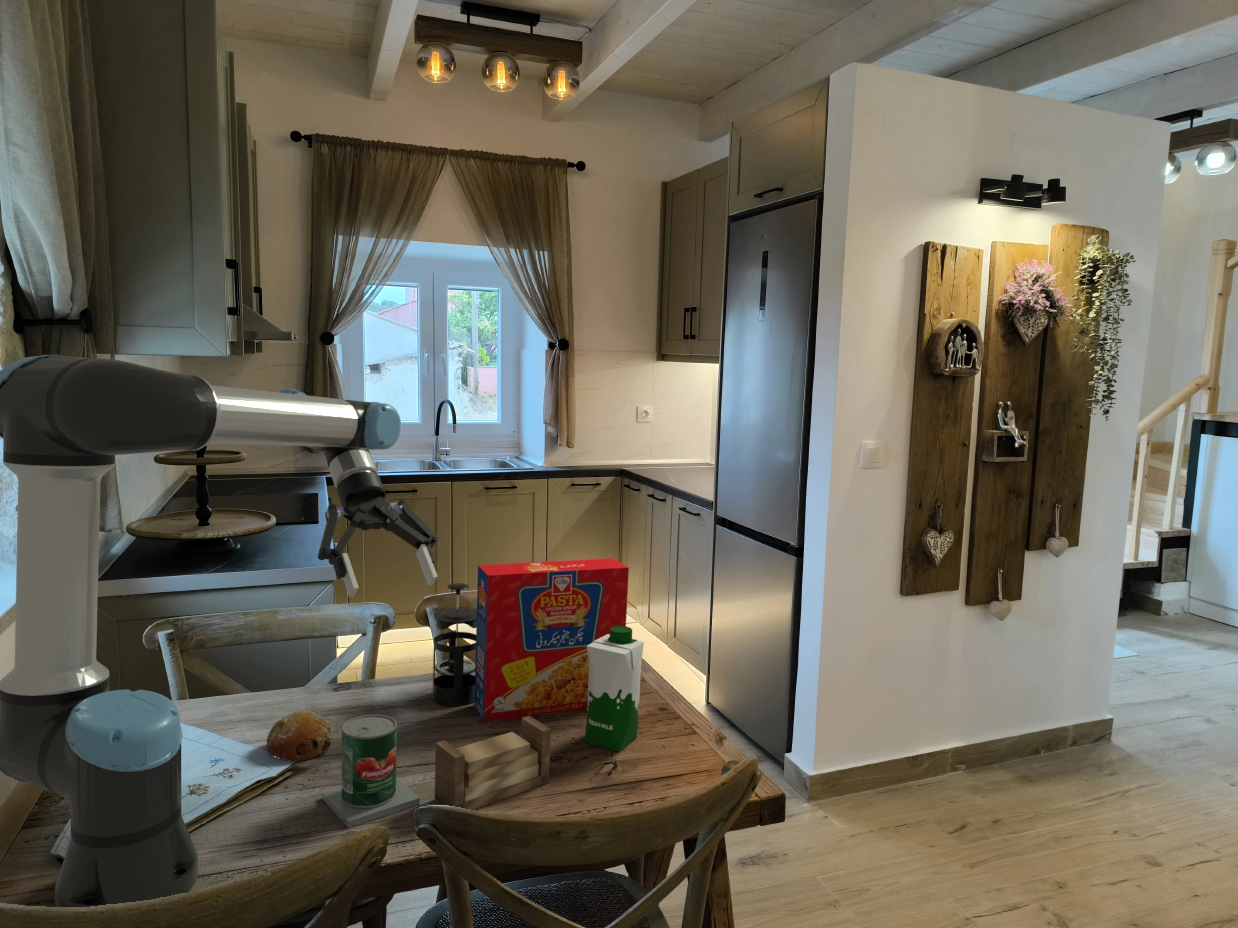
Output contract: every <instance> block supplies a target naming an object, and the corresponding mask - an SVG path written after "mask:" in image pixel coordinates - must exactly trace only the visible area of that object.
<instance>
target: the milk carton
mask: <svg viewBox="0 0 1238 928" xmlns="http://www.w3.org/2000/svg"><path fill="white" fill-rule="evenodd" d="M644 642H645V641H642V640H638V639H634V638H633V628H631V627H629V626H627V625H626V626H614V627H611V628H610V634H607V635H605V636H603V637H601V638H599V639H597V640H595V641H593V643H591V644H589V645H587V652H588V659H589V680H588V704H587V709H586V712H587V713H586V721H585V722H586V723H585V733H584V735H585V737H584V743H586V744H588V745H593V746H596V747H600V748H603V749H607V750H611V751H614V752H617V751H618V753H620V752H621V751H622V750H624V749H625V748H626V747H627V746H628V745H630V743H632V742H633V741H634V740H635V739H636V738H638V725H639V711H640V693H641V671H642V660H643V653H644V646H645V645H644ZM631 741H632V742H631Z"/></svg>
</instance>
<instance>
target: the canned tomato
mask: <svg viewBox="0 0 1238 928" xmlns="http://www.w3.org/2000/svg"><path fill="white" fill-rule="evenodd" d="M397 727H398V723H397V720H395V719H394V718H393V717H391V716H388V715H385V714H363V715H359V716H356V717H353V718H350V719H348V720H347V721H345V722H344V723H343V724H342V725H341V786H342V796H341V797H342V801H343V802H344V803H345V804H346V805H348V806H350V807H353V808H362V809H364V808H374V807H378V806H381V805H384V804H386V803H388V802H389V801H391V800H392V799H393V798H394V797H395V795H396V777H397V750H398V749H397V736H398V735H397Z"/></svg>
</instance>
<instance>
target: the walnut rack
mask: <svg viewBox="0 0 1238 928" xmlns="http://www.w3.org/2000/svg"><path fill="white" fill-rule="evenodd" d="M520 725H521V727H520V728H521V729H520V730H521V731H520V737H521V738H522V739H524V740H525V741H527V742H528V743H530V747H531V748H532V749H534V750H535V751H537V752H538V764H539V768H538V777H535V778H532V779H529V780H526V781H524V782H521V783H518V784H515V785H512V786H509V787H506V788H503V789H500V790H498V791H495V792H492V793H489V794H486V795H483V796H480V797H477V798H475V799H472V800H469V801H466V802H464V764H465V755H464V754H463V753H461V752H460V751H459V750H457V749H456V747H455V746H454V745H452V744H451V743H449V742H448V741H447V740H445V739H444V740H440V741H437V742H435V762H434V763H435V764H434V765H435V766H434V769H435V770H434V800H435V799H436V800H437V801H436V800H435V801H436V802H437V803H438V804H440V806H442V805H449V806H455V807H461V808H465V809H473V810H477V809H478V808H481V807H484V806H488V805H489V803H490V804H494V803H495V802H498V801H502V800H504V799H507V798H509V797H513V796H515V795H518V794H521V793H524V792H526V791H528V790H532V789H535V788H537V787H538V788H539V787H541V786H543V785H546V784H548V783H549V784H550V781H549V780H550V759H551V757H550V755H551V732H552V731H551V730H552V729H551V728H550V727H548V726H547V725H545V724H544V723H541V722H540V721H538V720H537V719H535V718H534V717H533V716H527V717H521V724H520ZM540 785H541V786H540Z"/></svg>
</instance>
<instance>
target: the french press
mask: <svg viewBox="0 0 1238 928" xmlns="http://www.w3.org/2000/svg"><path fill="white" fill-rule="evenodd" d="M469 587H470V586H469V585H468V584H467V583H461V582H454V583H449V584H448V585H447V587H446V588H448V589H449V590H454V591H455V595H456V608H447V609H442V610H439V611H437V612H435V613H434V615H433V616H434V617H433V618H434V619H435V620H436V623H435V626H436V628H437V629H438V630H441V631H443V630H444V631H445V630H446V629H448V628H450V627H451V626H453V625H455V630H454V629H453V630H449V631H448V632H444V633H441V634H438V635H435V637H434V638H433V657H432V658H433V661H432V664H433V665H432V671H433V672H432V692H431V700H432V702H433V703H435V704H437V705H439V706H445V707H462V706H468V705H472V704H474V701H475V674H474V673H475V663H476V661H474V660H470V659H466V658H465V656H464V655H465V653H469V652H472V651H476V633H473V632H469V631H468V632H467V631H459V624H465V625H468V626H469V627H470V628H473V629H476V625H477V610H473V609H469V608H459V603H460V600H459V598H460V595H461V592H462V591H461V590H466V589H469ZM460 639H464V640H465V639H466V640H471V641H474V642H473V643H470V644H466V645H459V644H460V643H459V641H460ZM444 640H448V645H444V644H440V643H439V642H441V641H444ZM436 650H437V651H440V652H441V653H446V654H447V653H448V655H447V656H448V657H447V659H445V660H441V661H439V662H436ZM436 673H437V674H438V676H436Z"/></svg>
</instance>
